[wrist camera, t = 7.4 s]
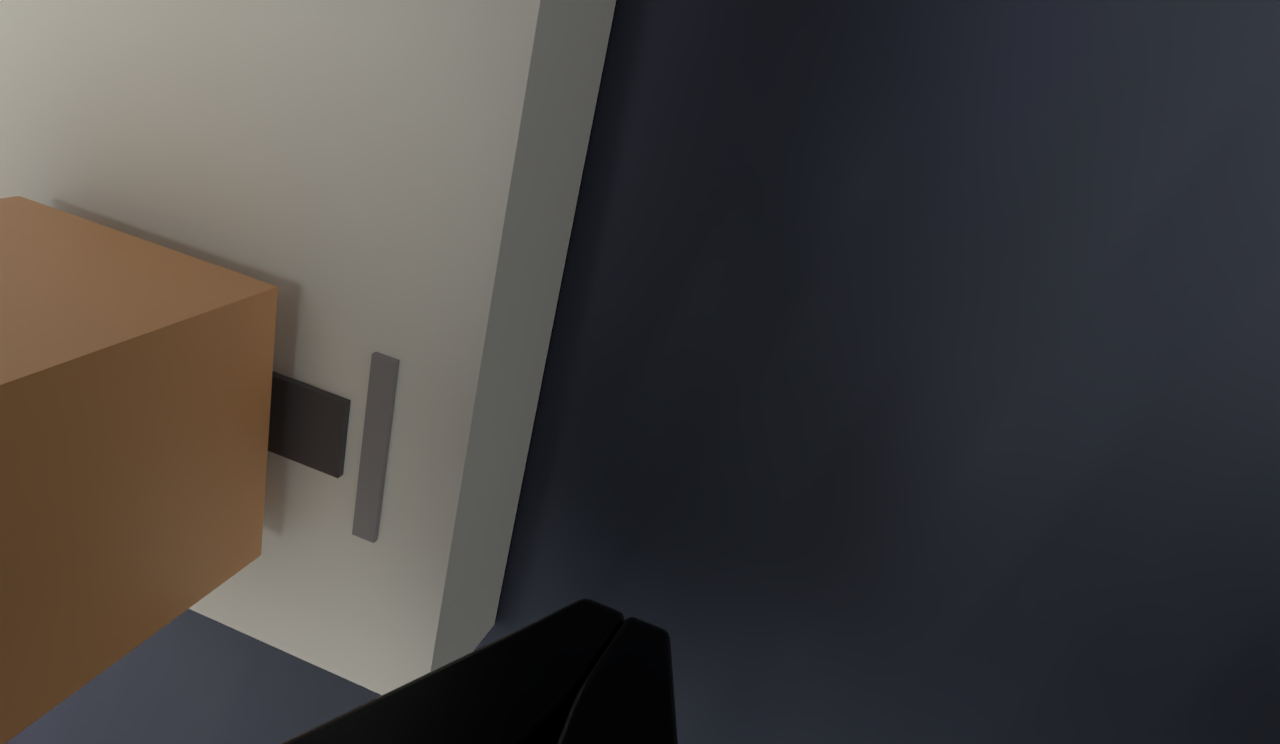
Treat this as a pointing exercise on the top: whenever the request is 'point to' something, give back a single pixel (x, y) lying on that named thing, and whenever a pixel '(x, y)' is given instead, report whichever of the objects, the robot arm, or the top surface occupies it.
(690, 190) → the top surface
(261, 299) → the orange fader
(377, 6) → the console
